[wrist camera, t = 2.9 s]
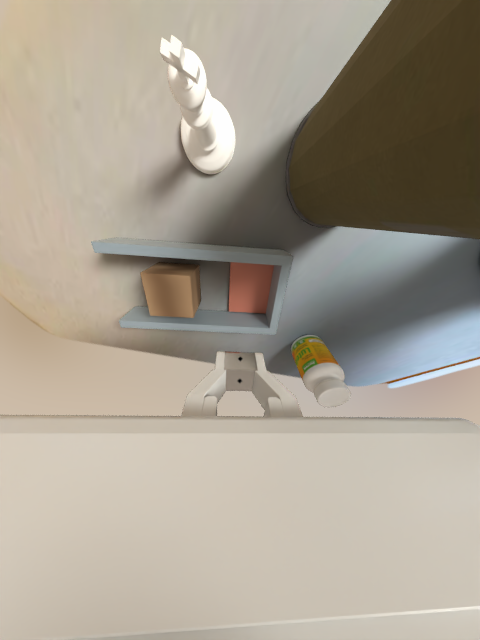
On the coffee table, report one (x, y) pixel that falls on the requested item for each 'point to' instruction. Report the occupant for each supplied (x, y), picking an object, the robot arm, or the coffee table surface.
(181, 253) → the channel
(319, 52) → the coffee table surface
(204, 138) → the chess piece
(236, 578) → the robot arm
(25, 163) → the coffee table surface
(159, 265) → the walnut cube
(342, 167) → the canister
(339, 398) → the supplement bottle
